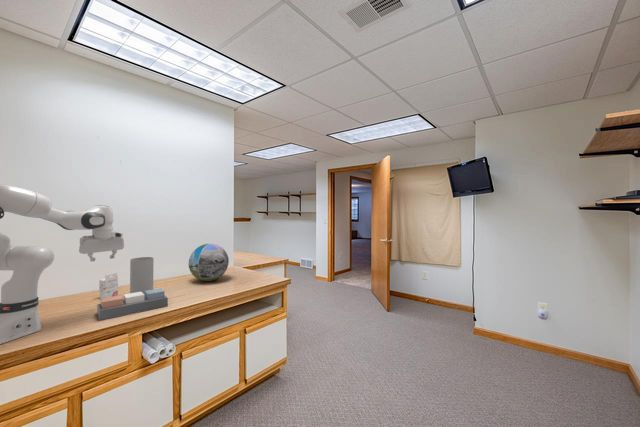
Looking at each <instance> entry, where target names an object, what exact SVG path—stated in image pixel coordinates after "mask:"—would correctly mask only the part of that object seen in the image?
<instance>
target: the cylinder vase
mask: <svg viewBox="0 0 640 427" xmlns="http://www.w3.org/2000/svg"><path fill="white" fill-rule="evenodd" d="M129 263H130V264H129V265H130V266H129V268H130V269H129V270H130V272H129V273H130V274H129V277H130V278H129V293H135V292H142V293H143V294H144V296H145V291H147V290H153V289H154V257H152V256H144V257H143V256H141V257H134V258H131V259H130V262H129Z"/></svg>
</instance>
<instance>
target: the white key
mask: <svg viewBox="0 0 640 427" xmlns="http://www.w3.org/2000/svg"><path fill="white" fill-rule="evenodd" d="M123 300H124V303H125V305H127V304H132V303H137V302H142V301H144V294H143V293H142V292H135V293H130V292H129V293H124V294H123Z"/></svg>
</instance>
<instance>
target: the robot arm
mask: <svg viewBox="0 0 640 427" xmlns="http://www.w3.org/2000/svg"><path fill="white" fill-rule="evenodd" d="M5 213H11V214H13V215H16V216H17V215H19V216H21V217H27V218H34V219H41V220H45V221H49V222H52V223H55V224H56V225H57V226H59V227H60V228H62V229H64V230H65V231H75V230H78V231H79V230H80V231H82V230H84V231H85V230H86V231H89V230H90V231H91V230H92V232H91V233H92V235H83V236H82V237H80V239H79V247H78V252H79V253H80V254H82V255H87V256H88V258H89V260H90V262H96V257H94V256H93V255H94V253H102V252H103V253H104V252H112V253H111V254H110V255H109V259H115V256H116V254H117V253H118V251H121V250H123V249H124V247H125V240H124V238H123V237H124V234H123V233H122V232H119V231H118V232H117V231H114V227H113V222H114V213H113V210H112V208H111V207H110V206H108V205H102V204H96V205H94V206H93V207H91V208H89V209H87V210H85V211H83V210H81V211H78V210H64V211H63V210H60V209H58V208H55V207H53V202H52V200H51V199H50V197H48V196H46V195H43V194H42V193H39V192H36V191H33V190H31V189H27V188H25V187H19V186H15V185H9V184H0V220H1V219H3V218H4V216H5ZM54 259H55V254H54V251H53V250H52V249H49V248H46V247H42V246H37V245H36V246H32V245H31V246H30V245H29V246H24V245H23V246H20V245H15V244H12V243H11V238H10V237H9V236H7V235H5V234H4V233H2V232H0V271H13V272H12V275H11V277H10V279H9V280H7V281H5V282H4V283H3V284H2V285H1V287H0V345H1V344H5V343H9V342H10V341H14V340H16V339H20V338H22V337H25V336H28V335H30V334H31V335H32V334H33V333H37V332H39V331H41V330H42V327H43V324H42V322H41V320H40V315H39V308H38V306H39V297H38V285H39V280H40V276H41V275H42V273H43V272H44V271H45V270H46V269H47V268H49V267H50V266H51V265H52V263H53V262H54V261H55V260H54Z"/></svg>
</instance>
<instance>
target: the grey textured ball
mask: <svg viewBox="0 0 640 427" xmlns="http://www.w3.org/2000/svg"><path fill="white" fill-rule="evenodd" d="M229 260H230V259H229V255H228V252H227V251H226V250H225V249H224V248H223V247H222V246H220V245H218V244H215V243H205V244H202V245H200V246H198V247H196V248H195V249H194V250H193V251H192V252H191V254H190V256H189V259H188V268H189V271H190V273H191V275H192V276H193V277H194V278H196V279H197V280H200V281H202V282H203V281H204V282H211V281H216V280H217V279H219V278H221V277H222V276H223V275H224V274H225V273H226V271H227V270H228V266H229V262H230V261H229Z"/></svg>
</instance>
